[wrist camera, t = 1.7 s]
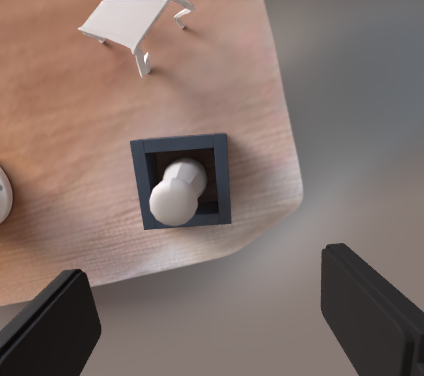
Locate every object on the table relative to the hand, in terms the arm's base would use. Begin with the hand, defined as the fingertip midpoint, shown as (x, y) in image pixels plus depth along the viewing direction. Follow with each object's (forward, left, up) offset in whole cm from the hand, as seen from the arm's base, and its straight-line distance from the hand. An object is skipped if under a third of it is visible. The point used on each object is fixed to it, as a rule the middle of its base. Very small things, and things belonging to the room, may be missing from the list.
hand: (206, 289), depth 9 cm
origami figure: (-6, +17, -24) cm, 30 cm away
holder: (-3, 0, -24) cm, 24 cm away
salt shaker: (-3, 0, -24) cm, 24 cm away
